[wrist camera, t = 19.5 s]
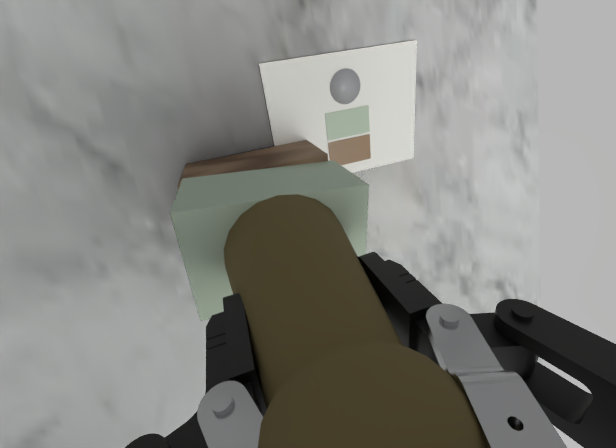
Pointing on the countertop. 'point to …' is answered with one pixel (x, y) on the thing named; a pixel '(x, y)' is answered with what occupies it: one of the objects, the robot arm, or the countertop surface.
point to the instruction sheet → (346, 103)
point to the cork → (332, 341)
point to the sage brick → (243, 195)
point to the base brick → (257, 160)
